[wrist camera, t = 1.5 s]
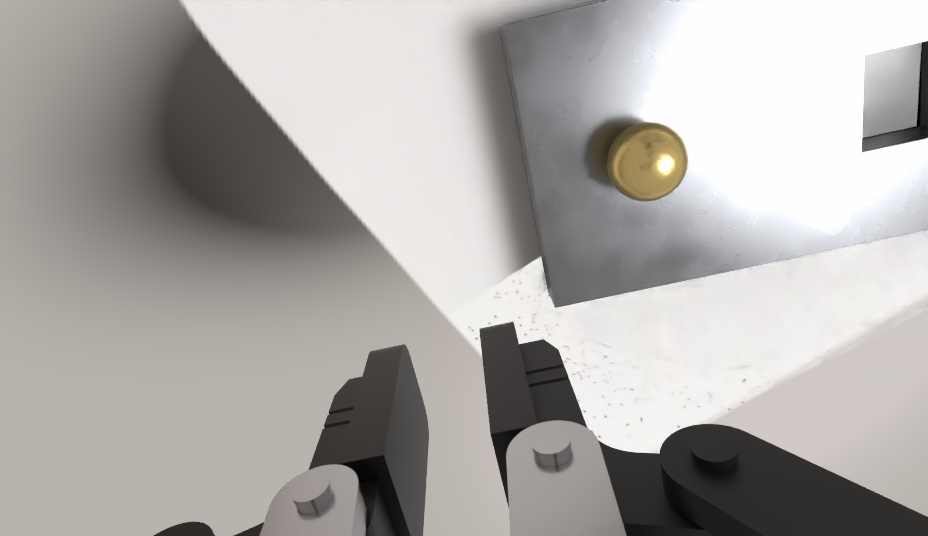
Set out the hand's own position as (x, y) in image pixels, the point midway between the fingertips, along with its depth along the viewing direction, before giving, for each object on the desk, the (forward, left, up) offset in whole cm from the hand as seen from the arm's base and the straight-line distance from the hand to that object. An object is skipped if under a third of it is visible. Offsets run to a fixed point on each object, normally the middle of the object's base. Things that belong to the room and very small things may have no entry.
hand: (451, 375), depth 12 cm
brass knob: (0, +9, -15) cm, 17 cm away
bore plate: (0, +16, -19) cm, 25 cm away
